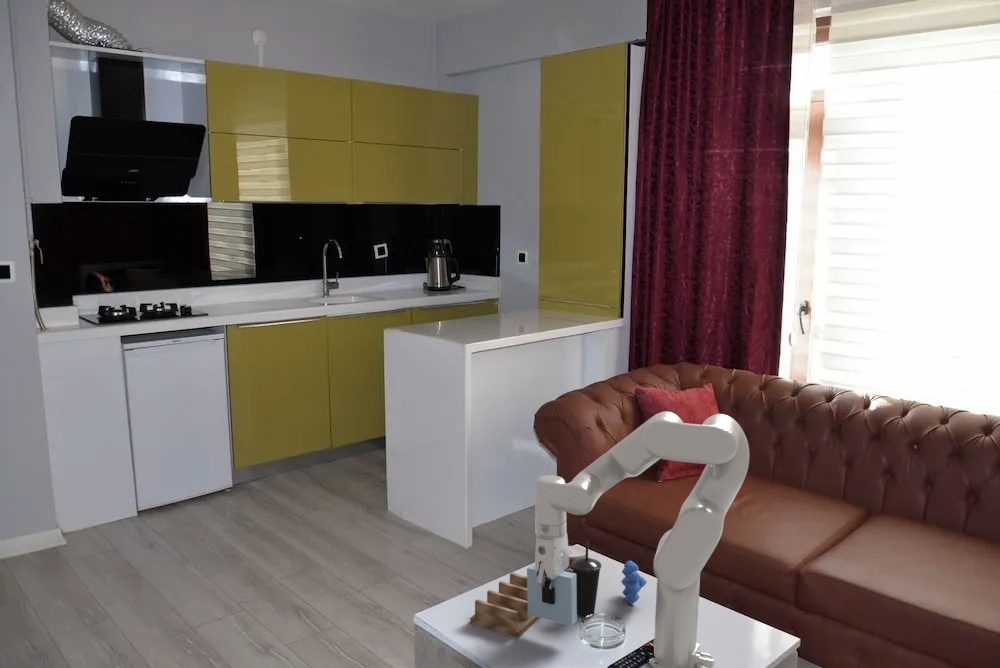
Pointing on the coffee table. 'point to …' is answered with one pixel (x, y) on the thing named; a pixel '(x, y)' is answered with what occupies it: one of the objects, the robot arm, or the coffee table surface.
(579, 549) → the canned food
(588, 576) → the drinking cup
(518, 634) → the dish rack
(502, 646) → the coffee table surface
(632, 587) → the grapes
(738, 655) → the coffee table surface
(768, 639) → the coffee table surface
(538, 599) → the light blue square slab
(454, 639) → the coffee table surface
